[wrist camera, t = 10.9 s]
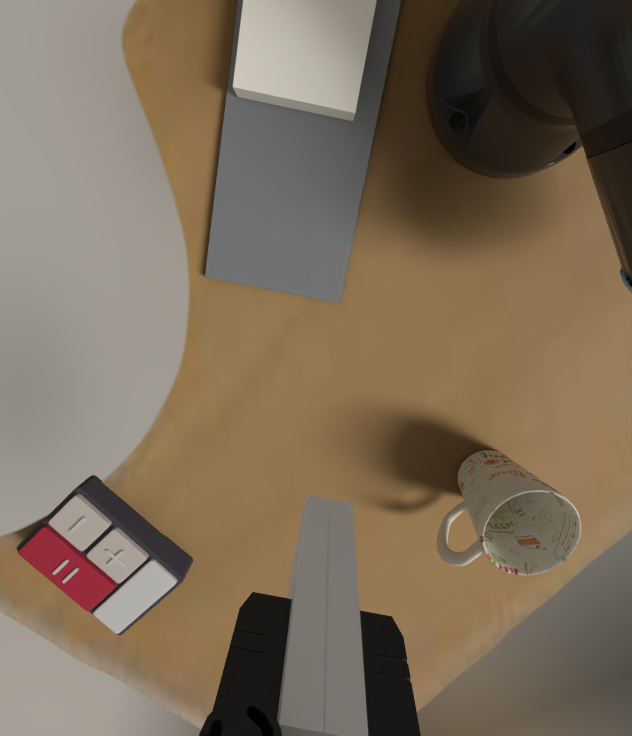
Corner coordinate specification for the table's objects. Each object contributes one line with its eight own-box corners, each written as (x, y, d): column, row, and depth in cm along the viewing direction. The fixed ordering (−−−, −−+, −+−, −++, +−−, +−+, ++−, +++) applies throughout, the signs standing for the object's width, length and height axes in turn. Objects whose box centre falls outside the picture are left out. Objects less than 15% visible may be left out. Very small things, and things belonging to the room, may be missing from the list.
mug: (539, 472, 44) (602, 531, 34) (454, 546, 46) (489, 621, 37) (487, 424, 43) (537, 471, 33) (402, 502, 45) (425, 568, 35)
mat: (412, -59, 33) (414, -65, 32) (339, 302, 40) (340, 302, 39) (251, -96, 32) (250, -103, 31) (206, 276, 39) (204, 276, 39)
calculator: (73, 489, 41) (182, 585, 43) (97, 470, 45) (195, 558, 47) (8, 554, 43) (115, 643, 45) (37, 529, 47) (134, 612, 49)
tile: (352, 122, 35) (387, -60, 32) (355, 113, 33) (392, -84, 30) (238, 98, 35) (261, -89, 32) (232, 86, 33) (257, -115, 29)
